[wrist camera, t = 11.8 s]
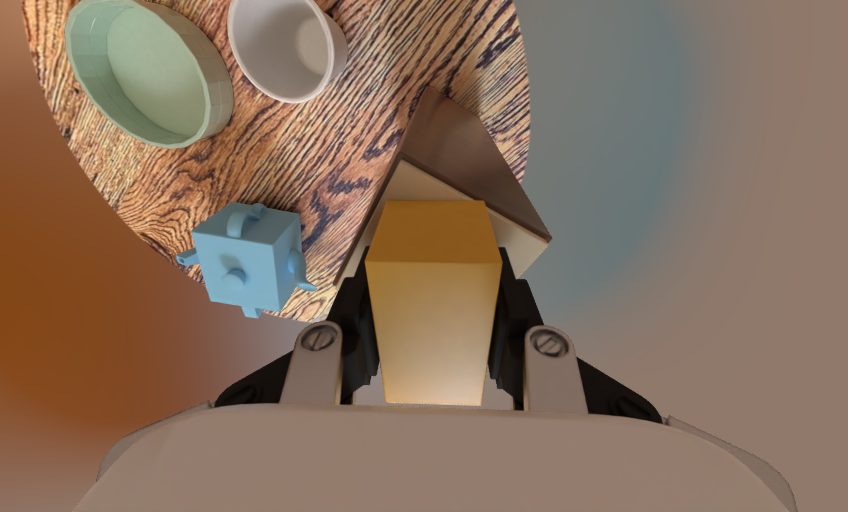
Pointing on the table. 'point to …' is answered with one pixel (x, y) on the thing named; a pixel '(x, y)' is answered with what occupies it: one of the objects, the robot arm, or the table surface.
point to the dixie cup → (286, 46)
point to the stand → (453, 181)
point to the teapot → (250, 257)
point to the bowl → (149, 71)
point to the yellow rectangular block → (433, 299)
